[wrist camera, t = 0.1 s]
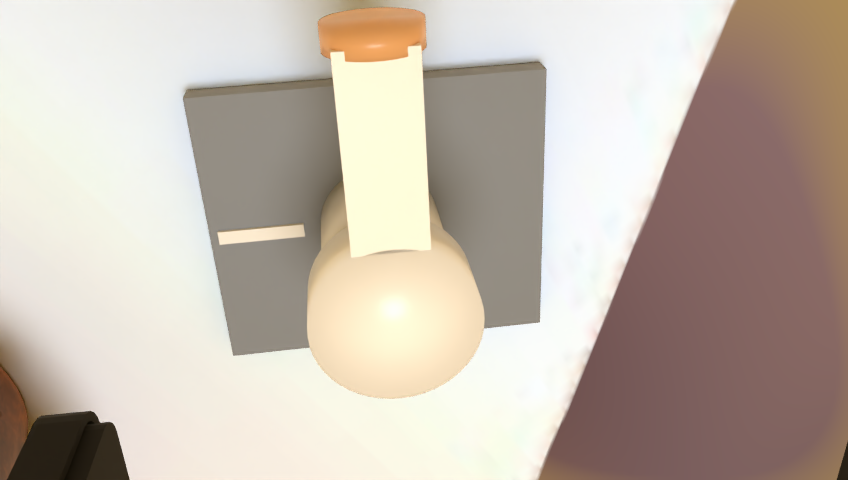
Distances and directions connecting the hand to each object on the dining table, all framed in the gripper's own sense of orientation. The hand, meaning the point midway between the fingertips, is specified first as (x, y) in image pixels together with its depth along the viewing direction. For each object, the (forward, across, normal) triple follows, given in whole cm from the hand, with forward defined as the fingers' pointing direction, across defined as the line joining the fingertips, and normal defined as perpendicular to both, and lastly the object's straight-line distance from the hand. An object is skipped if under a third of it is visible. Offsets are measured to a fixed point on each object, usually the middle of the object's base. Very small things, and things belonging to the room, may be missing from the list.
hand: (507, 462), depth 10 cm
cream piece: (+28, 0, +9) cm, 29 cm away
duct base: (+37, 0, +14) cm, 39 cm away
